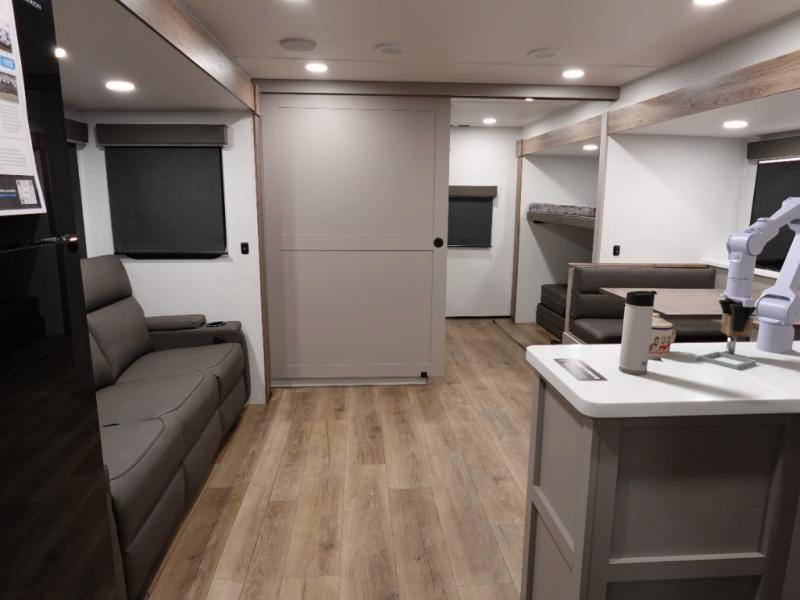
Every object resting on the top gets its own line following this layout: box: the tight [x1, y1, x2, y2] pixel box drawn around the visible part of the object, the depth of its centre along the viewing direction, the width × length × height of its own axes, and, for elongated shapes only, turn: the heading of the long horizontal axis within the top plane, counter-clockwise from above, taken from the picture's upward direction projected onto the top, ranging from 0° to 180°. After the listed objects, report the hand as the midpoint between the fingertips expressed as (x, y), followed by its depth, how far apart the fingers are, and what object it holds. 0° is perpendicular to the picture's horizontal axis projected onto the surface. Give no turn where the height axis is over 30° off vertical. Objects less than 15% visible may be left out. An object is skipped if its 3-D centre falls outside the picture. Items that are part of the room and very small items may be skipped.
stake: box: [721, 336, 747, 358], centre depth 145 cm, size 6×6×6 cm
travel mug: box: [618, 290, 658, 376], centre depth 130 cm, size 6×7×20 cm
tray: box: [697, 351, 757, 371], centre depth 138 cm, size 10×10×2 cm
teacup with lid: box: [648, 312, 677, 361], centre depth 146 cm, size 12×9×12 cm
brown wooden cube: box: [720, 312, 754, 338], centre depth 143 cm, size 5×5×5 cm
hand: (733, 328), depth 144 cm, fingers closed on brown wooden cube, 5 cm apart
